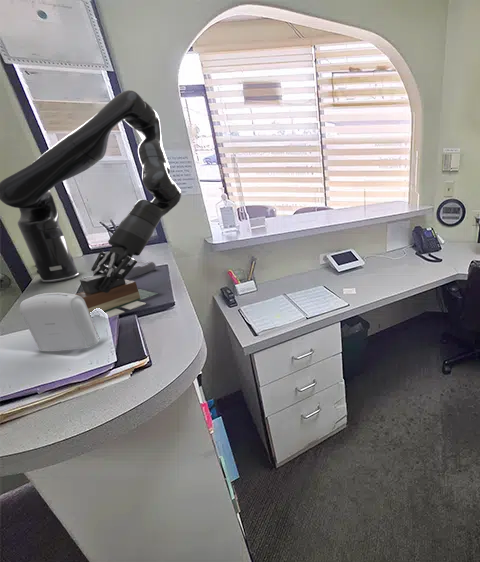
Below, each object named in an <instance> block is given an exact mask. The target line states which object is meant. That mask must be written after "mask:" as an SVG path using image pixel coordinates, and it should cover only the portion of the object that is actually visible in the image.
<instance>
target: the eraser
mask: <svg viewBox="0 0 480 562" xmlns="http://www.w3.org/2000/svg"><path fill="white" fill-rule="evenodd" d="M107 274H108V272H107V273H103V274H99V275H96V276H93V275H91V276H88V277H85V278H81V279H79V282H80V284H81V288H82V290H83V291H80V292H78V293H77V292H76V293H73V294H74V295H78V296H80V297H82V298H83V299H84V301H85V303H86V306H87V308H88V310H89V313H90V312H92V311H93V310H94V309H96V308H100V309H102V310H103V311H105V310H108V309H111V308H114V307H117V306H119V305H122V304H125V303H128V302H131V301H134V300H136V299H139V298H141V297H140V294H139V291H138V289H139V288H138V285H137V282H136V281H134V280H130V279H119V280H118V281H116V282H115V283H114V285H113V286H112V288H111V289H110V291H109V292H108V293H105V292H102V291H99V290H98V288H99V286H100V285H101V283H102V282H103V280H104V279H105V277H107Z"/></svg>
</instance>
